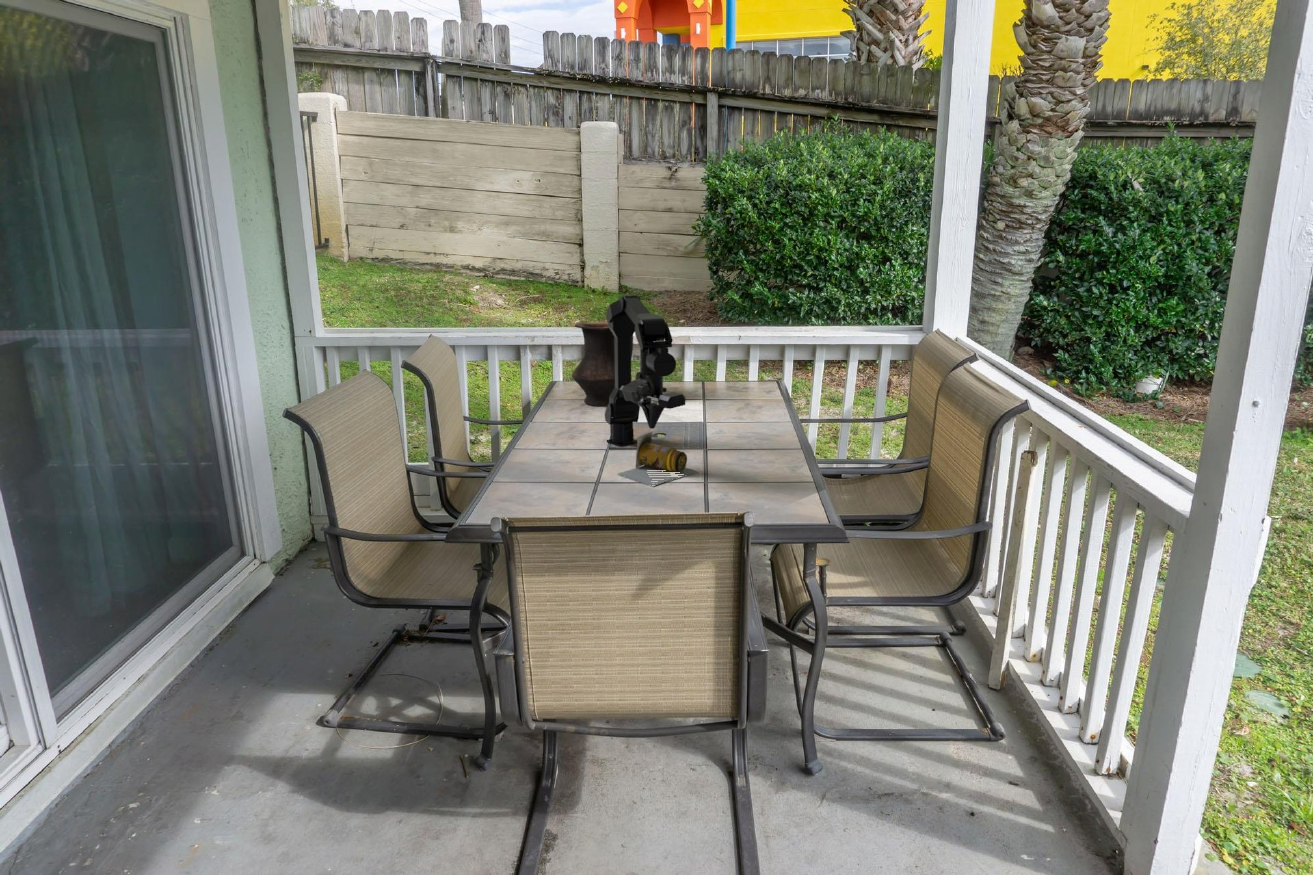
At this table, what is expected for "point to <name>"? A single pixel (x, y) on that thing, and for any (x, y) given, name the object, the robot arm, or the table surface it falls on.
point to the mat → (643, 477)
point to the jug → (597, 363)
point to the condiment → (659, 455)
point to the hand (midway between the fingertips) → (651, 428)
